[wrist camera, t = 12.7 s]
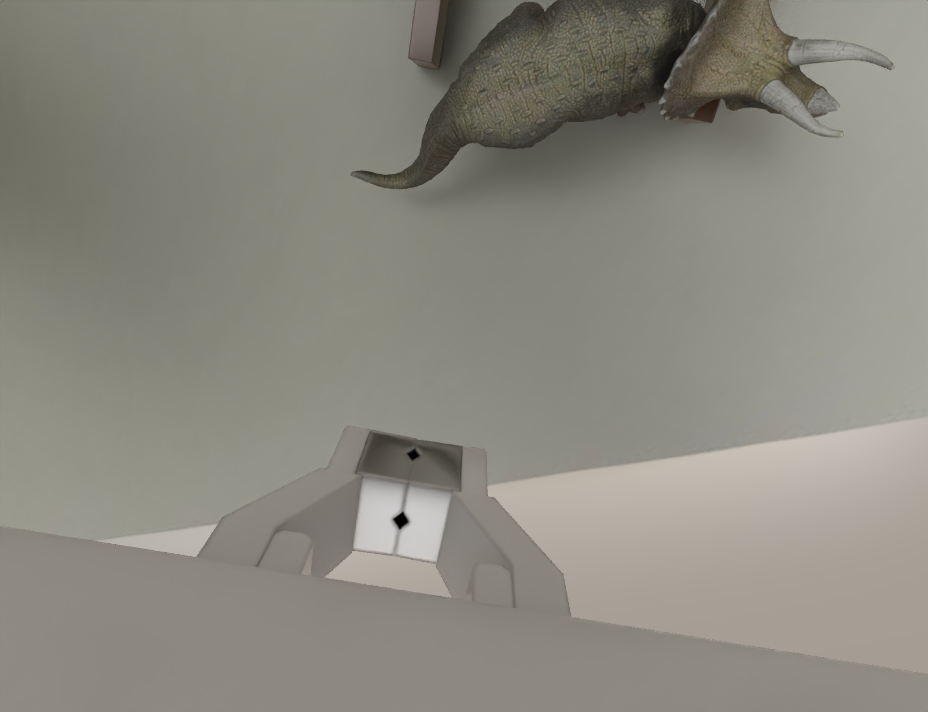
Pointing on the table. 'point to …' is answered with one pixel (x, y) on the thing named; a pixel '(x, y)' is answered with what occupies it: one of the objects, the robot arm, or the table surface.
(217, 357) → the table surface
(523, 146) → the toy dinosaur
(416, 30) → the walnut rails
